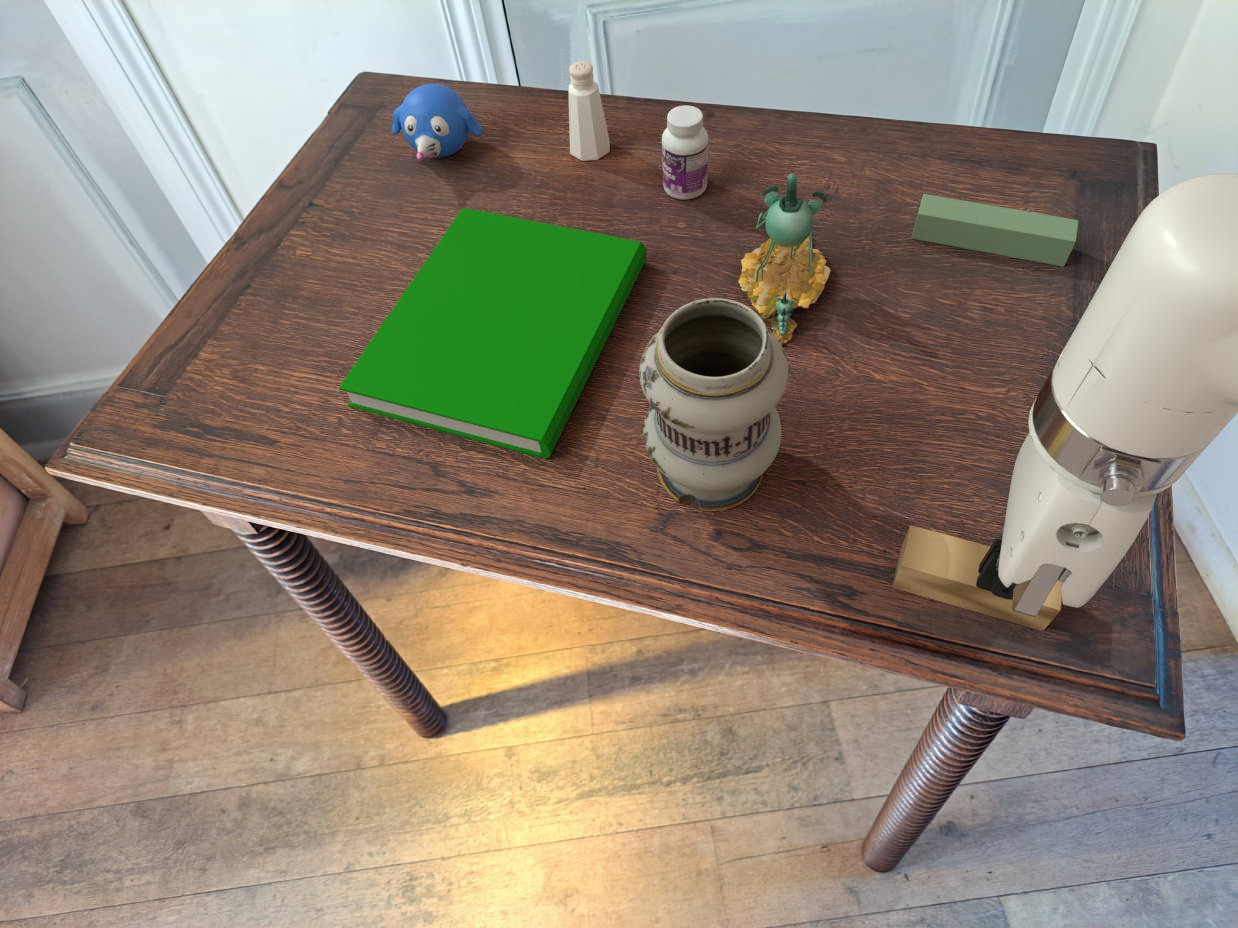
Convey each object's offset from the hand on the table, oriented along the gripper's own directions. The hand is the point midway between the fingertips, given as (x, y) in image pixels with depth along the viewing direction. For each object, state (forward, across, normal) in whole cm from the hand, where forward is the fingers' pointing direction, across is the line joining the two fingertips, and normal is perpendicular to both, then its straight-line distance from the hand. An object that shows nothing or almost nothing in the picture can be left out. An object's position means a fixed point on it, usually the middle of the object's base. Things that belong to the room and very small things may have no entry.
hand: (1001, 583), depth 57 cm
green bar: (+13, +50, +3) cm, 51 cm away
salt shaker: (+14, +54, +52) cm, 76 cm away
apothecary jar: (+13, +12, +23) cm, 29 cm away
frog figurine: (+14, +36, +23) cm, 45 cm away
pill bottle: (+14, +50, +38) cm, 64 cm away
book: (+14, +22, +49) cm, 56 cm away
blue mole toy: (+14, +46, +70) cm, 86 cm away
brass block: (+13, +6, -1) cm, 15 cm away
